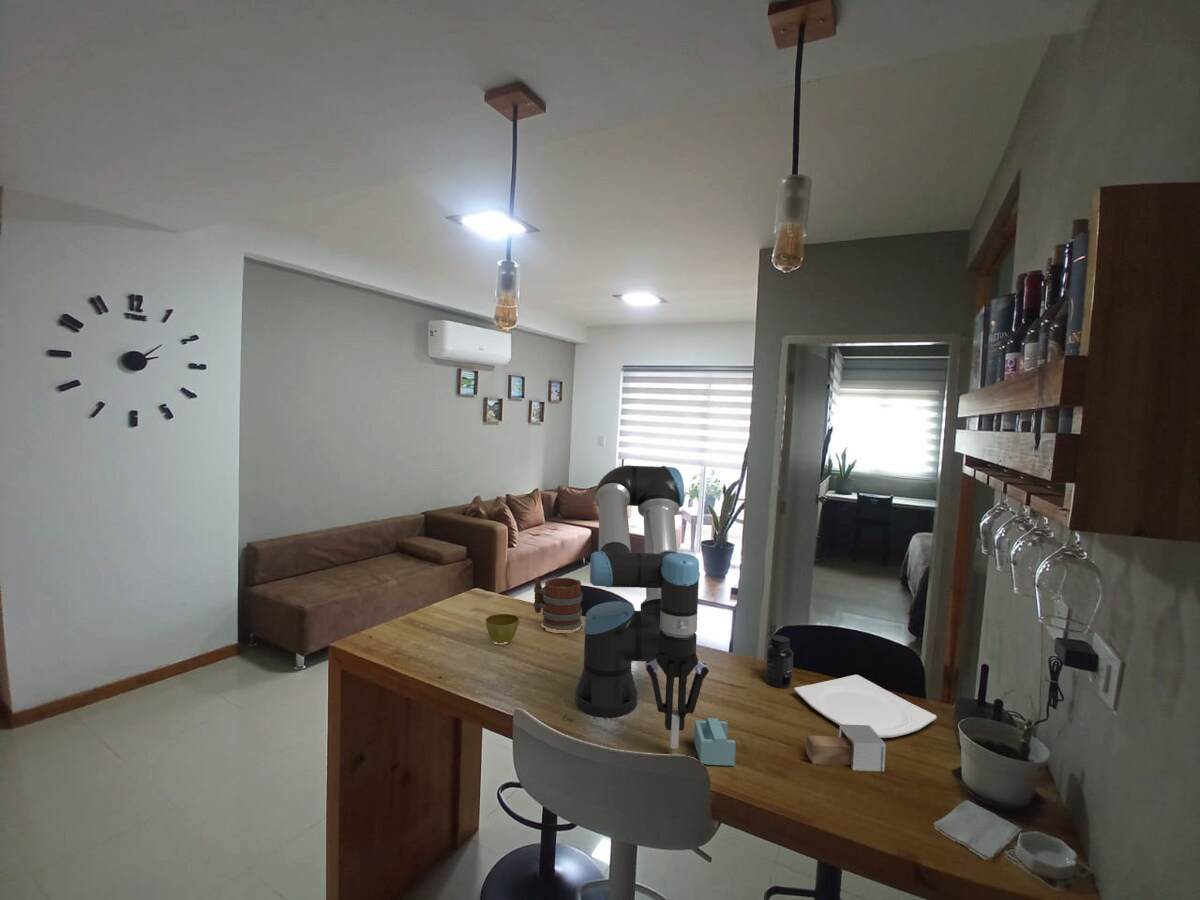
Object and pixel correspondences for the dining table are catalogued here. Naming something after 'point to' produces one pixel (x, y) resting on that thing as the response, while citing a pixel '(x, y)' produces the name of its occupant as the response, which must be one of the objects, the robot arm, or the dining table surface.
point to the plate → (865, 706)
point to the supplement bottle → (779, 662)
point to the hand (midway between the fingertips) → (673, 744)
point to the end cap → (864, 747)
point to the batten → (829, 750)
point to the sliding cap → (714, 742)
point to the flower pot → (502, 627)
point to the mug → (559, 603)
